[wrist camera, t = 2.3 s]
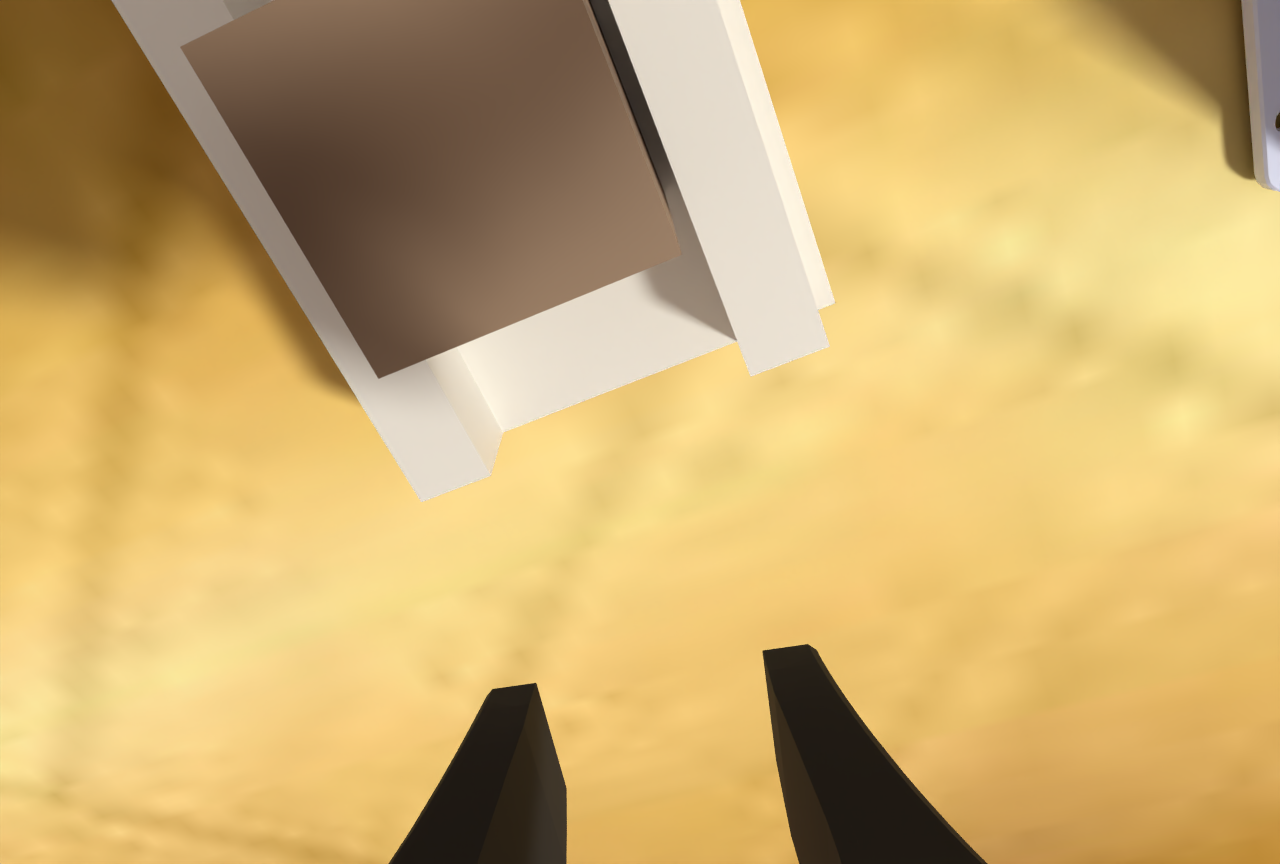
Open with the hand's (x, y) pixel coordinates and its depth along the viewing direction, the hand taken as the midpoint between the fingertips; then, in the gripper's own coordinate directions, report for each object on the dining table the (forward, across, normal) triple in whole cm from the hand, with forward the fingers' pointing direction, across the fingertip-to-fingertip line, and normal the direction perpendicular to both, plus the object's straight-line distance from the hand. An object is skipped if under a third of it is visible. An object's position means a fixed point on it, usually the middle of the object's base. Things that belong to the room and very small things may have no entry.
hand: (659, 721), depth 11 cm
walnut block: (+8, +2, -7) cm, 11 cm away
